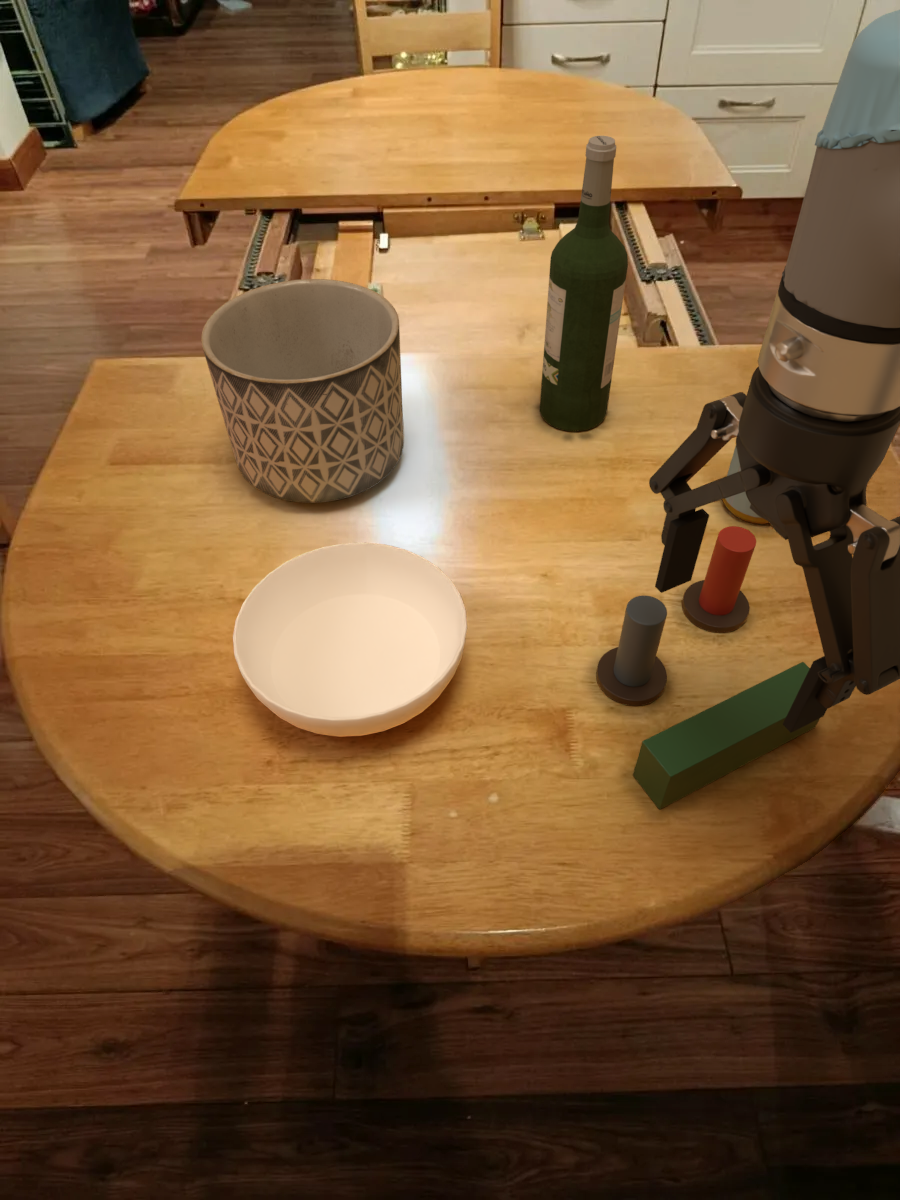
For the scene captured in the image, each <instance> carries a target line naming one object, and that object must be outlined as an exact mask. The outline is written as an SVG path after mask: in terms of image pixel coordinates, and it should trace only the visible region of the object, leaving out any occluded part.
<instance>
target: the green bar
mask: <svg viewBox="0 0 900 1200" xmlns="http://www.w3.org/2000/svg"><path fill="white" fill-rule="evenodd" d="M809 669H810V666H809V665H807V664H806V662H804V661H801V662H798V663H797V664H795V665H793V666H790V667H789V668H787V669H785V670H783V671H781V672H779V673H777V674H775V675H773V676H771V677H768V678H767V679H765V680H763V681H761V682H758V683H757V684H755V685H752V686H751V687H749V688H746V689H745V690H743V691H741V692H738V693H736V694H735V695H732V696H731V697H728V698H727V699H724V700H722V701H721V702H718V703H717V704H714V705H712V706H710V707H708V708H706V709H704V710H702V711H700V712H698V713H695V714H694V715H692V716H690V717H688V718H686V719H683V720H682V721H680V722H678V723H676V724H674V725H672V726H670V727H668V728H666V729H664V730H661V731H659V732H658V733H656V734H654V735H652V736H650V737H648V738H646V739H644V740H642V741H641V745H640V748H639V752H638V755H637V759H636V762H635V766H634V770H633V773H632V776H633V777H634V779H635V780H636V781H637V783H638V784H639V786H641V788H642V789H643V790H644V792H645V793H646V795H647V796H648V797H649V798H650V799H651V801H652V802H653V804H654V805H655V806H656V807H657V808H658V810H659V811H660V810H662V809H664V808H665V807H668V806H670V805H671V804H673V803H676V802H677V801H679V800H681V799H682V798H685V797H686V796H689V795H691V794H692V793H694V792H696V791H698V790H701V788H704V787H705V786H707V785H710V784H711V783H714V782H715V781H717V780H719V779H721V778H722V777H725V776H726V775H728V774H730V773H732V772H734V771H736V770H737V769H740V768H741V767H743V766H745V765H747V764H749V763H751V762H752V761H754V760H756V759H759V758H760V757H762V756H764V755H766V754H768V753H769V752H772V751H773V750H775V749H777V748H779V747H781V746H783V745H785V744H787V743H789V742H791V741H792V740H794V739H796V738H798V737H800V736H802V735H803V734H805V733H807V732H810V731H811V730H813V729H815V728H816V727H817V725H818V723H819V721H820V720H821V718H819V719H817V720H815V721H813V722H811V723H810V724H808V725H806V726H804V727H802V728H800V729H798V730H796V731H794V732H792V733H790V732H789V730H788V729H787V728H786V727H785V726H784V725H783V722H784V720H785V718H786V716H787V714H788V712H789V710H790V708H791V706H792V704H793V702H794V700H795V698H796V696H797V694H798V692H799V690H800V688H801V685H802V683H803V681H804V679H805V677H806V675H807V673H808V671H809Z"/></svg>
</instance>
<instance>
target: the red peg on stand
mask: <svg viewBox="0 0 900 1200" xmlns="http://www.w3.org/2000/svg"><path fill="white" fill-rule="evenodd" d="M756 545H757V537H756V536H755V535H754V534H753V533H752V532H751V531H750V530H749V529H747V528H744V527H742V526H735V525H732V526H730V525H729V526H726V527H723V528H722V529H721V530H720V531H719V532H718V534H717V538H716V541H715V544H714V547H713V551H712V553H711V557H710V560H709V564H708V567H707V570H706V574H705V578H704V579H702V580H698V581H695V582H694V583H692V584H690V585H689V586H688V587H687V588H686V589H685V591H684V593H683V596H682V600H681V607H682V608H681V609H682V611H683V613H684V615H685V617H686V618H687V620H688V621H690V622H691V623H692V624H693V625H695V626H696V627H698V628H700V629H701V630H704V631H707V632H711V633H715V634H717V633H718V634H725V633H730V632H734V631H736V630H738V629H740V628H741V627H742V626H744V625H745V623H746V621H747V620H748V617H749V614H750V603H749V600H748V598H747V596H746V595H745V594H744V592H743V591H742V590H741V588H742V585H743V582H744V579H745V577H746V574H747V571H748V568H749V566H750V563H751V560H752V557H753V554H754V551H755V548H756Z"/></svg>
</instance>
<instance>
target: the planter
mask: <svg viewBox="0 0 900 1200" xmlns="http://www.w3.org/2000/svg"><path fill="white" fill-rule="evenodd" d="M400 332H401V331H400V318H399V314H398V312H397V310H396V308H395V307H394V305H393V304H392V303H391V302H390V301H389V300H388V299H387V298H386V297H385V296H383V295H382V294H380V293H378V292H377V291H375V290H372V289H370V288H368V287H366V286H363V285H360V284H357V283H353V282H350V281H349V282H348V281H344V280H337V279H329V278H328V279H325V278H303V279H302V278H301V279H291V280H285V281H279V282H278V281H277V282H274V283H269V284H266V285H262V286H258V287H255V288H253V289H250V290H248V291H245V292H243V293H241V294H238V295H237V296H235V297H233V298H231V299H229V300H227V301H226V302H225V303H223V304H222V305H221V306H219V308H216V310H215V311H214V312H213V313H211V315H210V316H209V317H208V319H207V320H206V322H205V324H204V326H203V328H202V331H201V336H200V340H201V348H202V351H203V354H204V357H205V361H206V364H207V368H208V371H209V375H210V377H211V381H212V384H213V385H212V386H213V387H214V388H213V389H214V391H215V396H216V398H217V401H218V406H219V408H220V411H221V415H222V418H223V423H224V425H225V429H226V433H227V435H228V440H229V441H230V442H229V443H230V447H231V449H232V453H233V457H234V459H235V463H236V465H237V468H238V470H239V472H240V474H242V477H243V478H244V479H245V480H246V481H247V482H248V484H250V485H251V486H252V487H254V488H255V489H256V490H258V491H259V492H262V493H264V494H266V495H268V496H270V497H274V498H275V499H279V500H283V501H288V502H295V503H306V504H308V503H309V504H311V503H313V504H314V503H315V504H317V503H327V502H334V501H338V500H339V501H340V500H343V499H347V498H350V497H353V496H356V495H358V494H361V493H362V492H365V491H367V490H369V489H371V488H372V487H374V486H376V485H377V484H378V483H379V484H380V482H381V481H383V480H384V479H385V478H386V477H388V475H390V473H392V471H393V470H394V469H395V468H396V466H397V464H398V463H399V461H400V459H401V458H402V454H403V450H404V446H405V445H404V443H405V439H404V437H405V436H404V414H403V411H404V410H403V388H402V387H403V385H402V359H401V333H400Z"/></svg>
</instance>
